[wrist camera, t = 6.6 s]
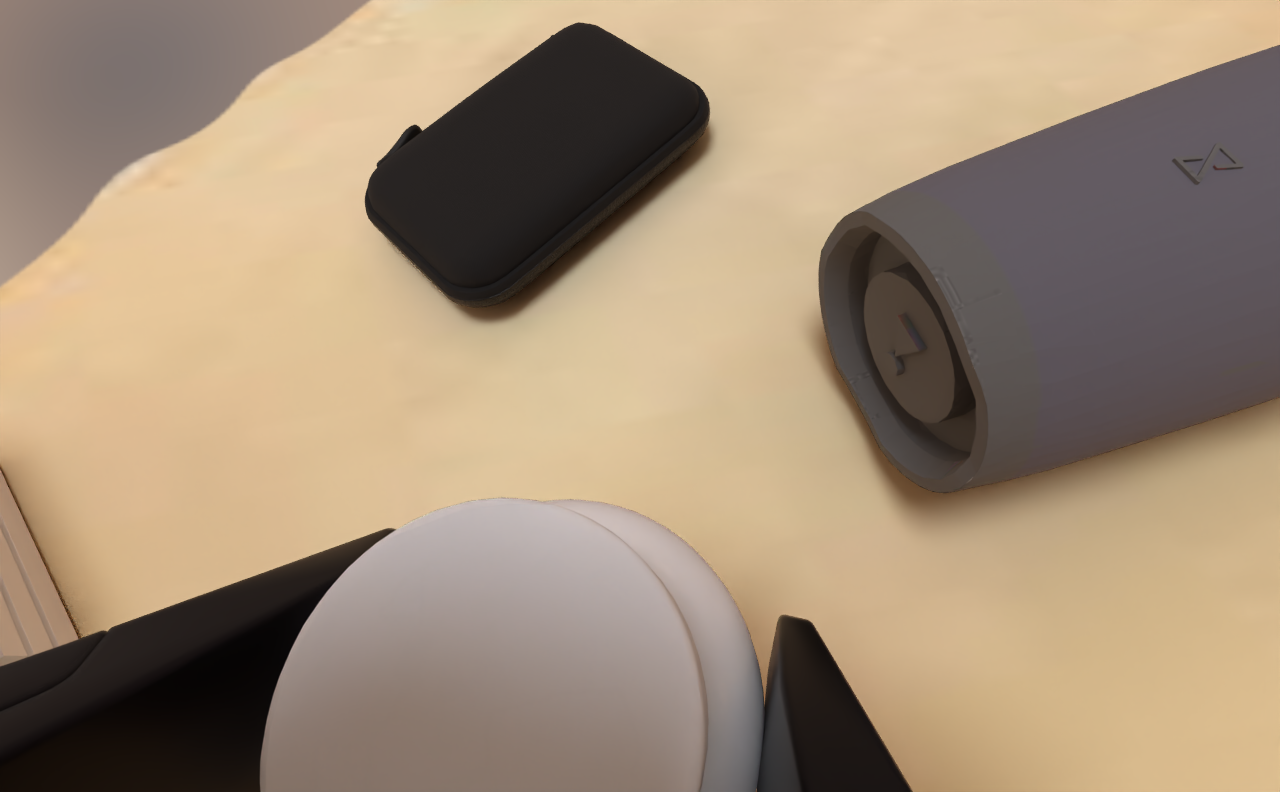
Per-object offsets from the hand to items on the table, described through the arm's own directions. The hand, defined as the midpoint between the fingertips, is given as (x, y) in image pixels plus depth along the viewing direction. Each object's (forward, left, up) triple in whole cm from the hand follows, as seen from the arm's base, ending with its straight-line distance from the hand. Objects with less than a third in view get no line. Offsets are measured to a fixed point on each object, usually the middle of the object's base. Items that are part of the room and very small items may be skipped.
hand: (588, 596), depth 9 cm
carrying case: (+20, -7, -12) cm, 25 cm away
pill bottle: (-1, +1, -7) cm, 7 cm away
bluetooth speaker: (-1, -21, -12) cm, 24 cm away
